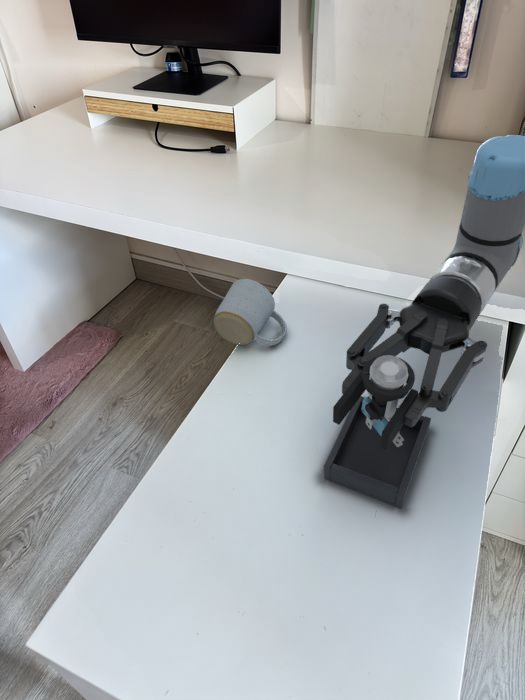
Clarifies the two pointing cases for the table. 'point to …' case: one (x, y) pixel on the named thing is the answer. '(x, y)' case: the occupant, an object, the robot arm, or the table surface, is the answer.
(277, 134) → the table surface
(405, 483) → the tray
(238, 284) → the ceramic mug
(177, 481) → the table surface
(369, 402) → the push button
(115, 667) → the table surface
